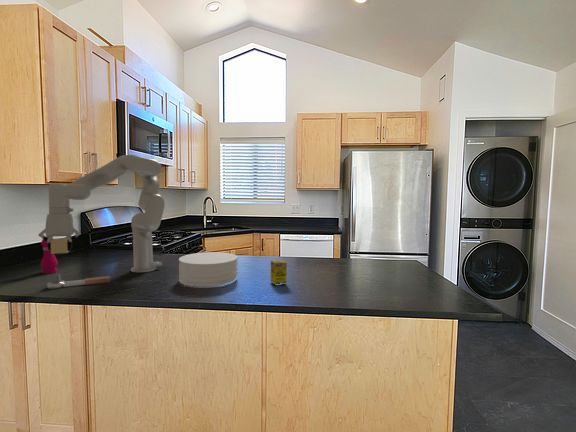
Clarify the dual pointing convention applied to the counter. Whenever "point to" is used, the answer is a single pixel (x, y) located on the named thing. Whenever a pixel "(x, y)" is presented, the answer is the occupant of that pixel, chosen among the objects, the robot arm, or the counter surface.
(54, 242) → the mustard yellow cube
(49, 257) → the pepper mill
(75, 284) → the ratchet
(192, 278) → the plate stack
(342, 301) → the counter surface
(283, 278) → the supplement box
